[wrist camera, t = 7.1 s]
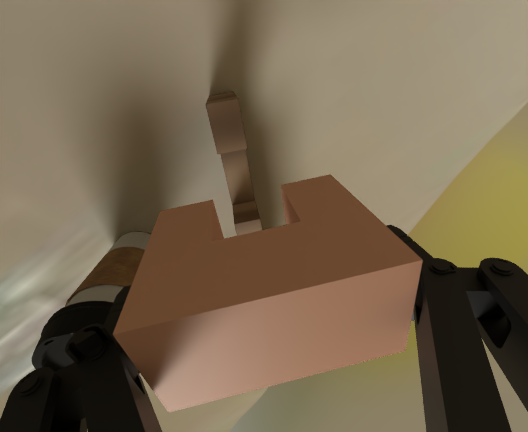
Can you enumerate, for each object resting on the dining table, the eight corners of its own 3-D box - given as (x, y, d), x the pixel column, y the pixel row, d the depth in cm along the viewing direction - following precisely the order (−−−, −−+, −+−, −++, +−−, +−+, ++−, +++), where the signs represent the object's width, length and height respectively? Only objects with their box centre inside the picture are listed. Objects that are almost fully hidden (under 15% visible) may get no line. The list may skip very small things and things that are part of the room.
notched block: (187, 276, 17) (168, 412, 10) (160, 211, 15) (112, 334, 8) (332, 242, 18) (405, 351, 11) (330, 174, 15) (422, 259, 9)
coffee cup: (144, 209, 31) (89, 311, 18) (188, 257, 35) (170, 369, 22) (87, 243, 32) (-6, 363, 19) (136, 286, 36) (89, 409, 23)
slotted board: (209, 96, 26) (205, 104, 19) (233, 91, 26) (238, 98, 19) (248, 266, 37) (255, 311, 30) (265, 262, 37) (275, 306, 30)
